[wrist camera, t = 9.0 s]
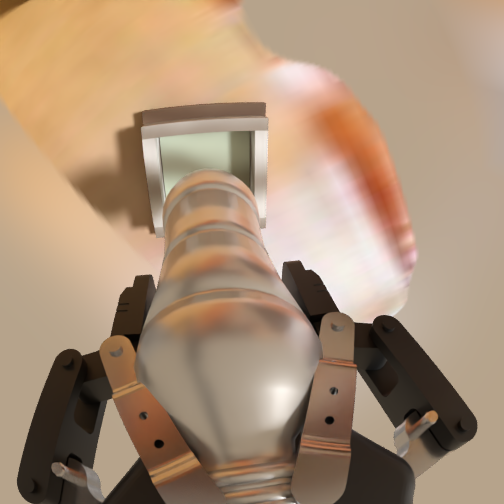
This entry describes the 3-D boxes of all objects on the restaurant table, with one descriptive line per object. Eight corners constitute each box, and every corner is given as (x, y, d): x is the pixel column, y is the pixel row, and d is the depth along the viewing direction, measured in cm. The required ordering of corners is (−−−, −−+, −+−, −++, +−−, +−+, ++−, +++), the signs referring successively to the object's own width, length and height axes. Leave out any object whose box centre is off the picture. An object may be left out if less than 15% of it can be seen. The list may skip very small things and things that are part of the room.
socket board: (144, 110, 24) (136, 113, 21) (263, 102, 26) (271, 104, 23) (159, 232, 31) (155, 248, 28) (260, 222, 33) (267, 238, 30)
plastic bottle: (194, 253, 23) (221, 531, 6) (149, 186, 19) (75, 523, 3) (265, 218, 22) (385, 491, 6) (227, 144, 19) (391, 502, 2)
